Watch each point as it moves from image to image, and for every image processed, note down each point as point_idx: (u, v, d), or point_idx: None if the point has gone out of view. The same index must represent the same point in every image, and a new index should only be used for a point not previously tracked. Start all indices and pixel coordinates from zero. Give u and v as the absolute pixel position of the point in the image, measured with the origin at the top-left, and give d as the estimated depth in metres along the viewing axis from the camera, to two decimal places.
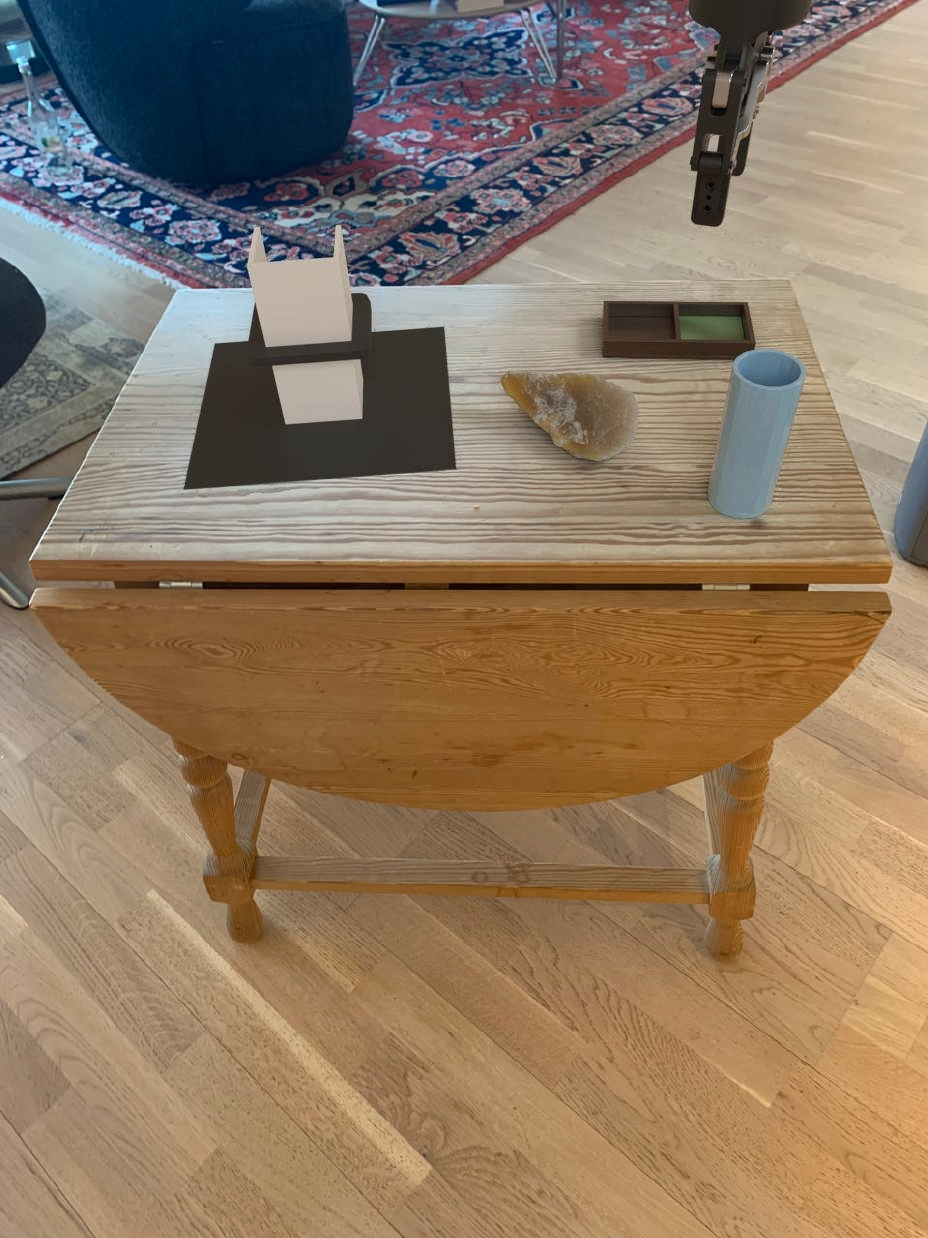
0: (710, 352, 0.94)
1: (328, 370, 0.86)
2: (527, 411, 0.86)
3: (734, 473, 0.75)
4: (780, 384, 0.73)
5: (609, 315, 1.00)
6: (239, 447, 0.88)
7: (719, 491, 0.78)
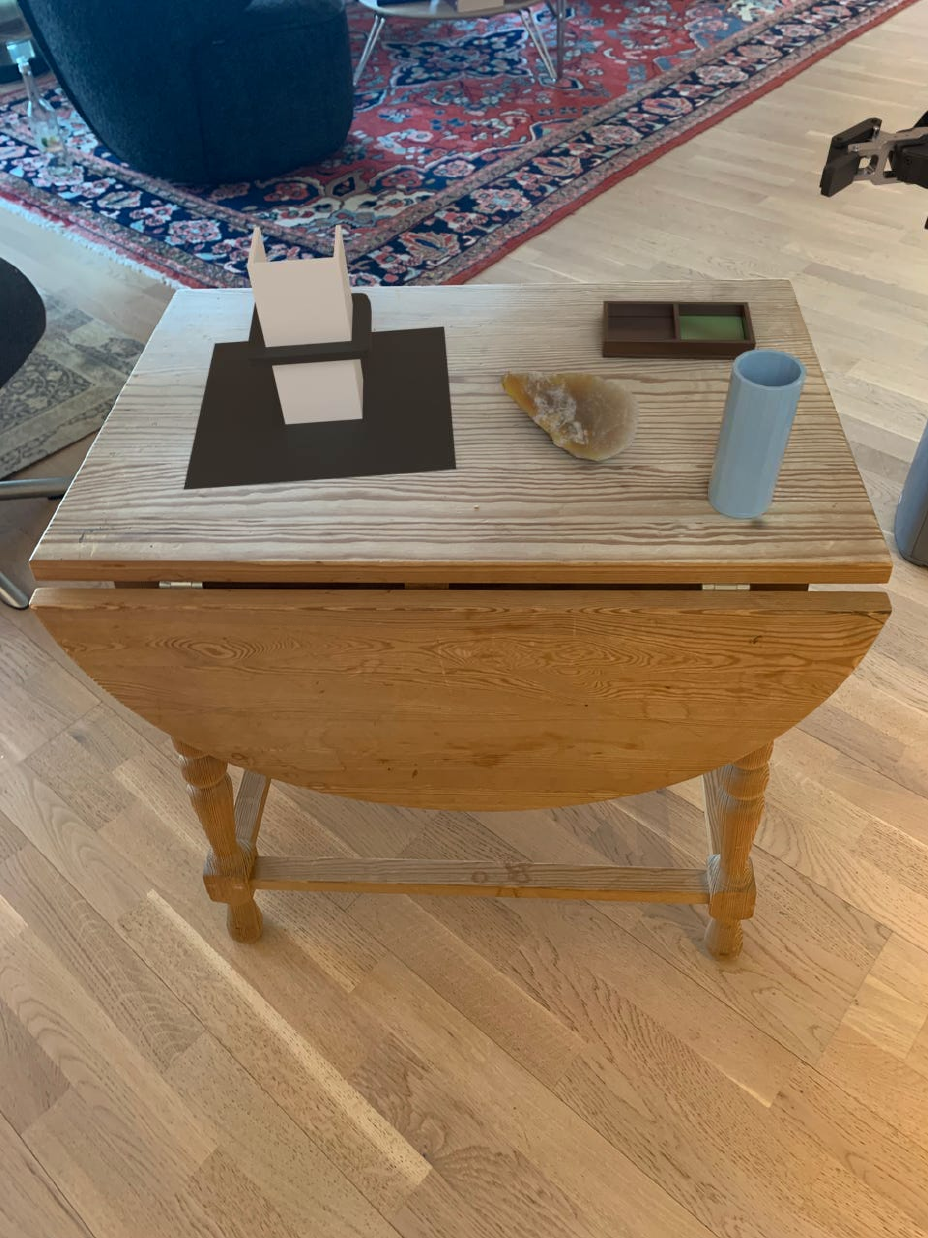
0: (710, 352, 0.94)
1: (328, 370, 0.86)
2: (527, 411, 0.86)
3: (734, 473, 0.75)
4: (780, 384, 0.73)
5: (609, 315, 1.00)
6: (239, 447, 0.88)
7: (719, 491, 0.78)
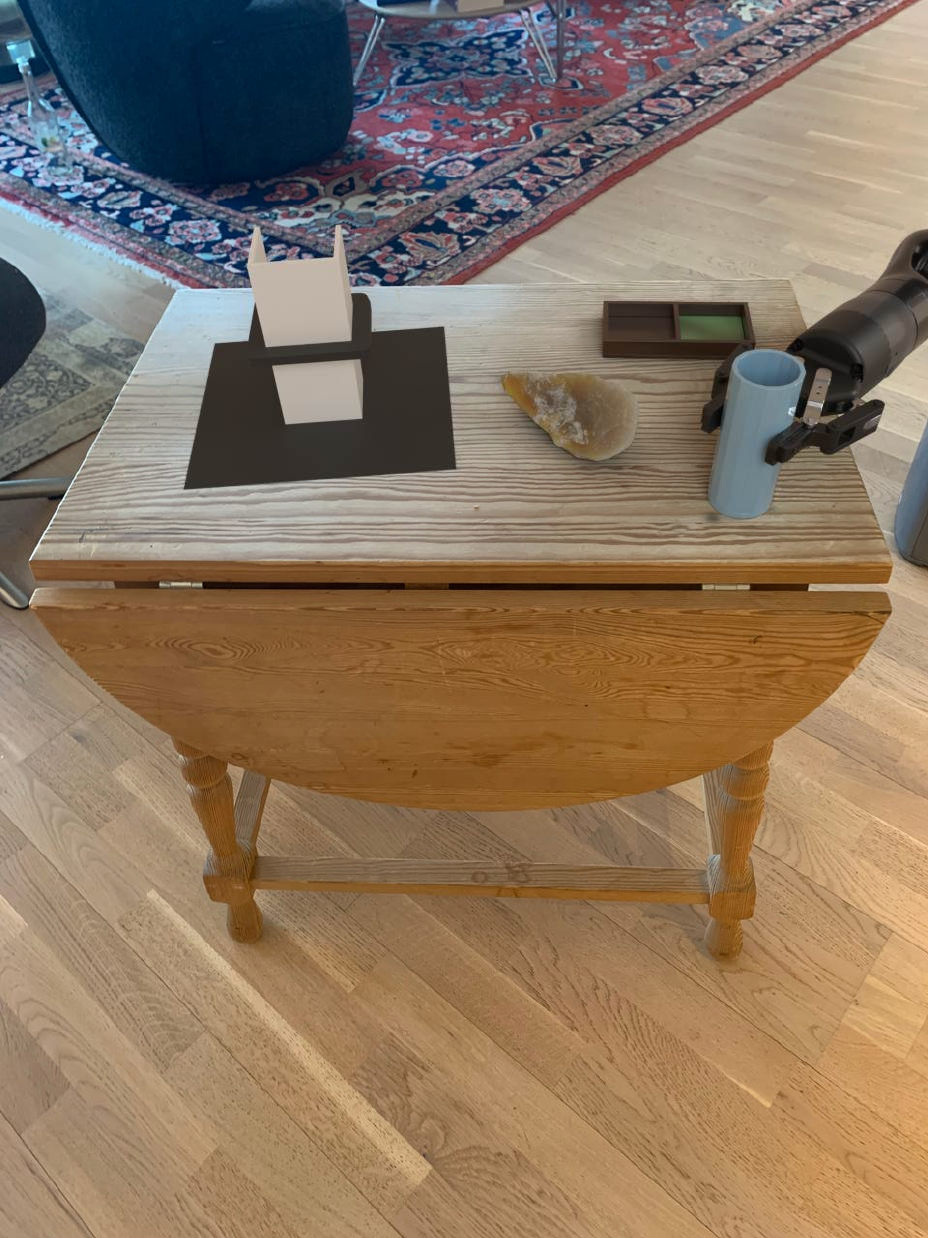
0: (710, 352, 0.94)
1: (328, 370, 0.86)
2: (527, 411, 0.86)
3: (734, 473, 0.75)
4: (780, 384, 0.73)
5: (609, 315, 1.00)
6: (239, 447, 0.88)
7: (719, 491, 0.78)
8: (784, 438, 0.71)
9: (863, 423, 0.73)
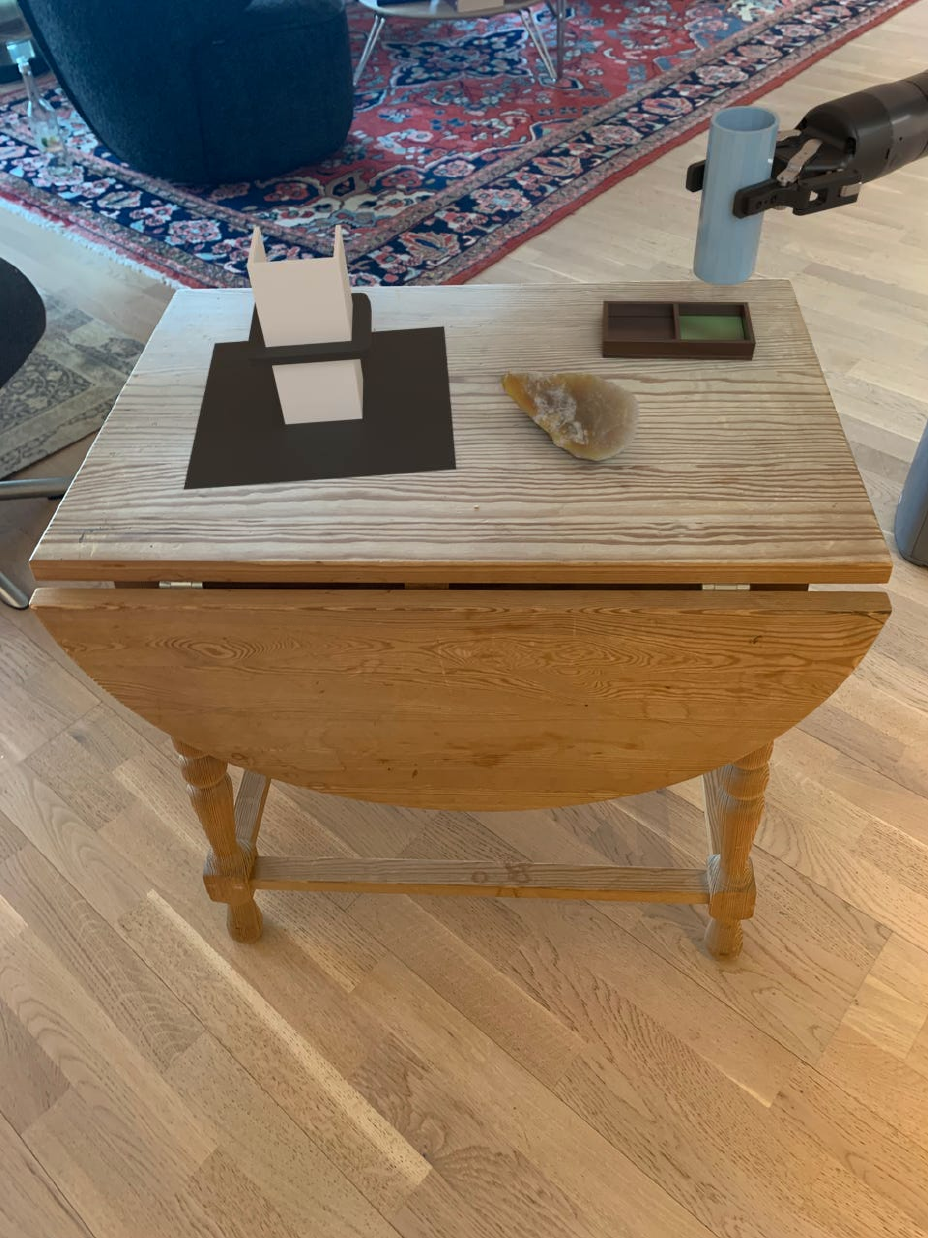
0: (710, 352, 0.94)
1: (328, 370, 0.86)
2: (527, 411, 0.86)
3: (709, 231, 0.80)
4: None
5: (609, 315, 1.00)
6: (239, 446, 0.88)
7: (699, 255, 0.82)
8: (751, 189, 0.75)
9: (837, 187, 0.76)
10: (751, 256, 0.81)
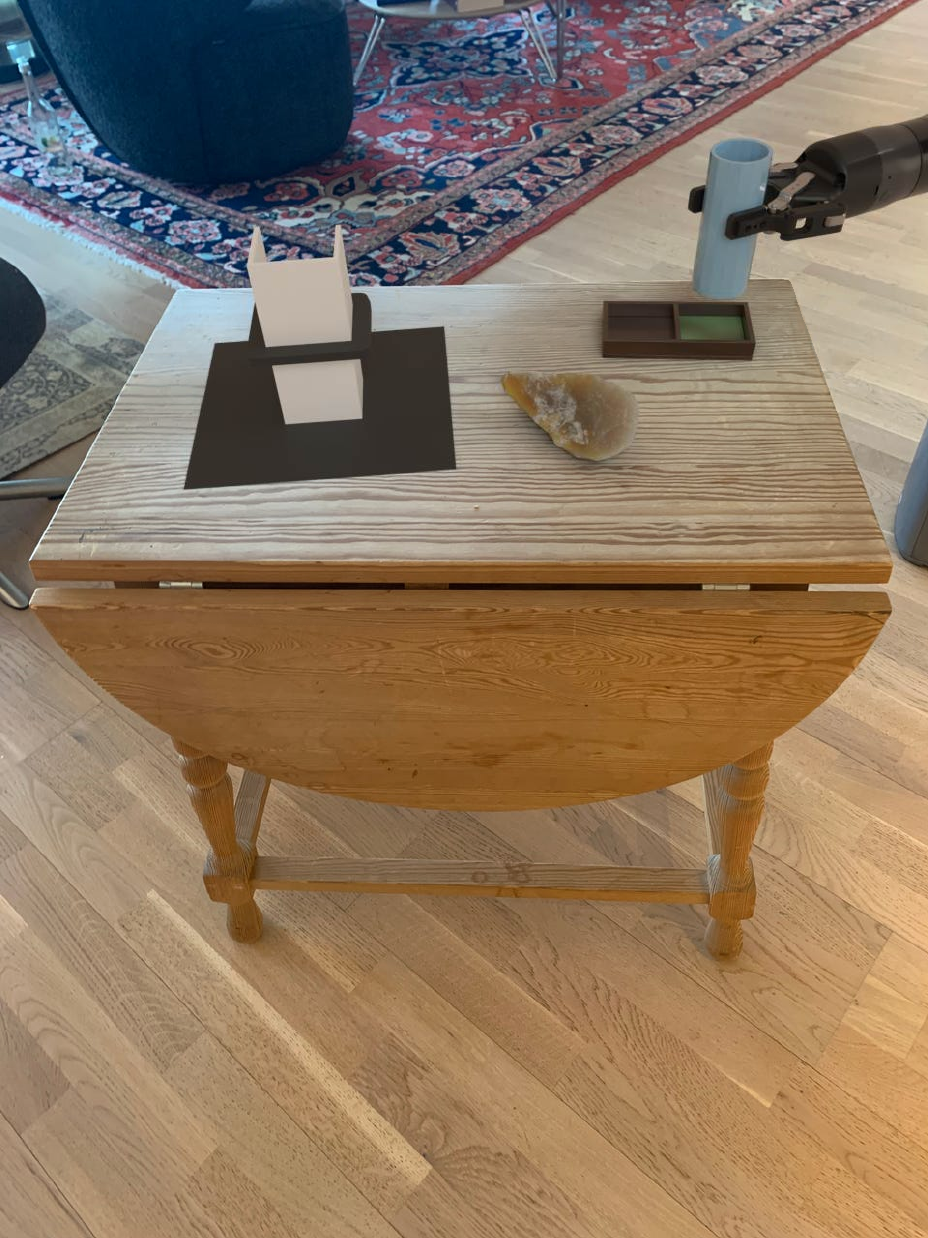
0: (710, 352, 0.94)
1: (328, 370, 0.86)
2: (527, 411, 0.86)
3: (705, 249, 0.88)
4: None
5: (609, 315, 1.00)
6: (239, 446, 0.88)
7: (696, 270, 0.91)
8: (742, 214, 0.83)
9: (822, 217, 0.83)
10: (743, 274, 0.89)
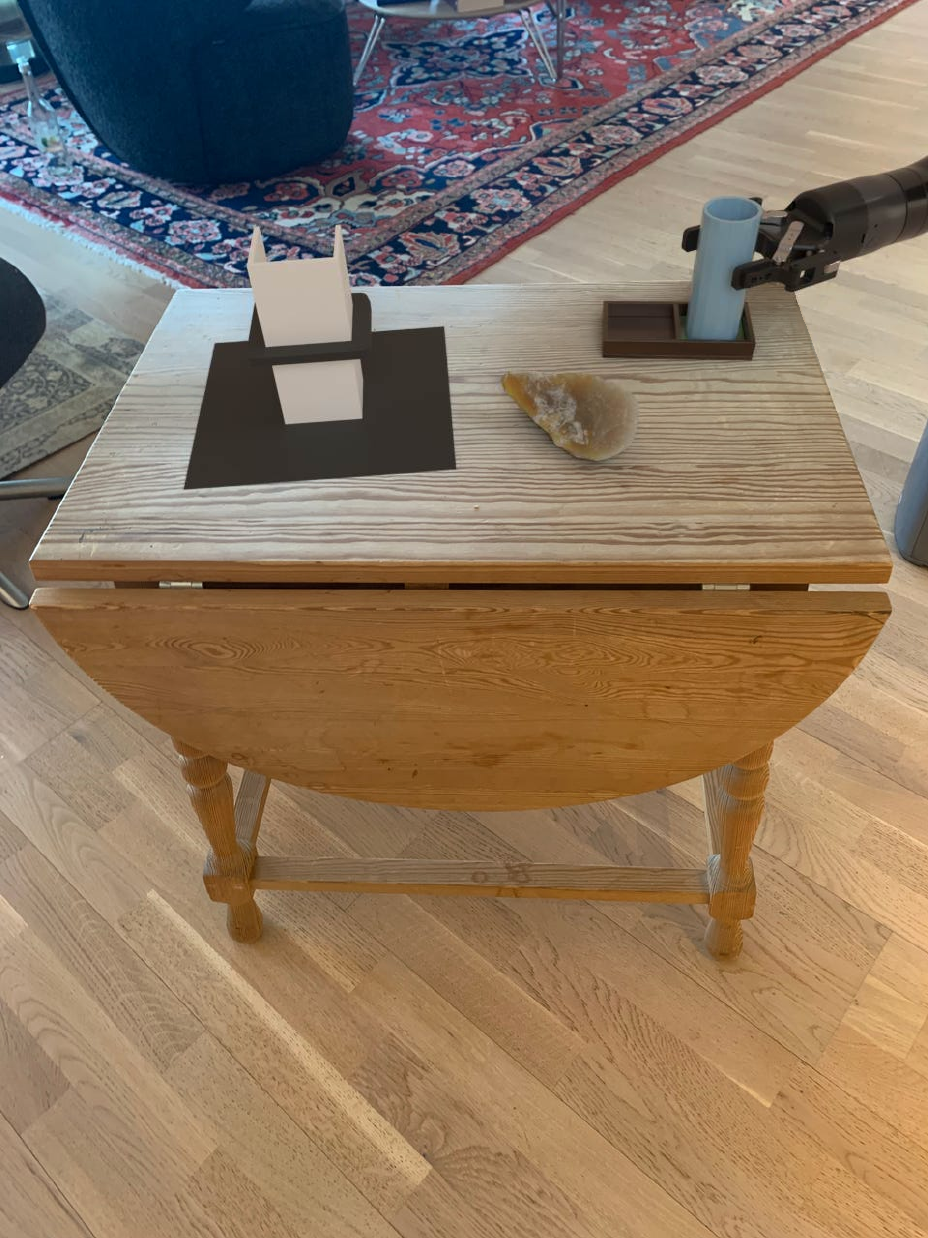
0: (710, 352, 0.94)
1: (328, 370, 0.86)
2: (527, 411, 0.86)
3: (698, 300, 0.92)
4: None
5: (609, 315, 1.00)
6: (239, 446, 0.88)
7: (689, 319, 0.95)
8: (748, 266, 0.86)
9: (822, 266, 0.87)
10: (734, 324, 0.93)
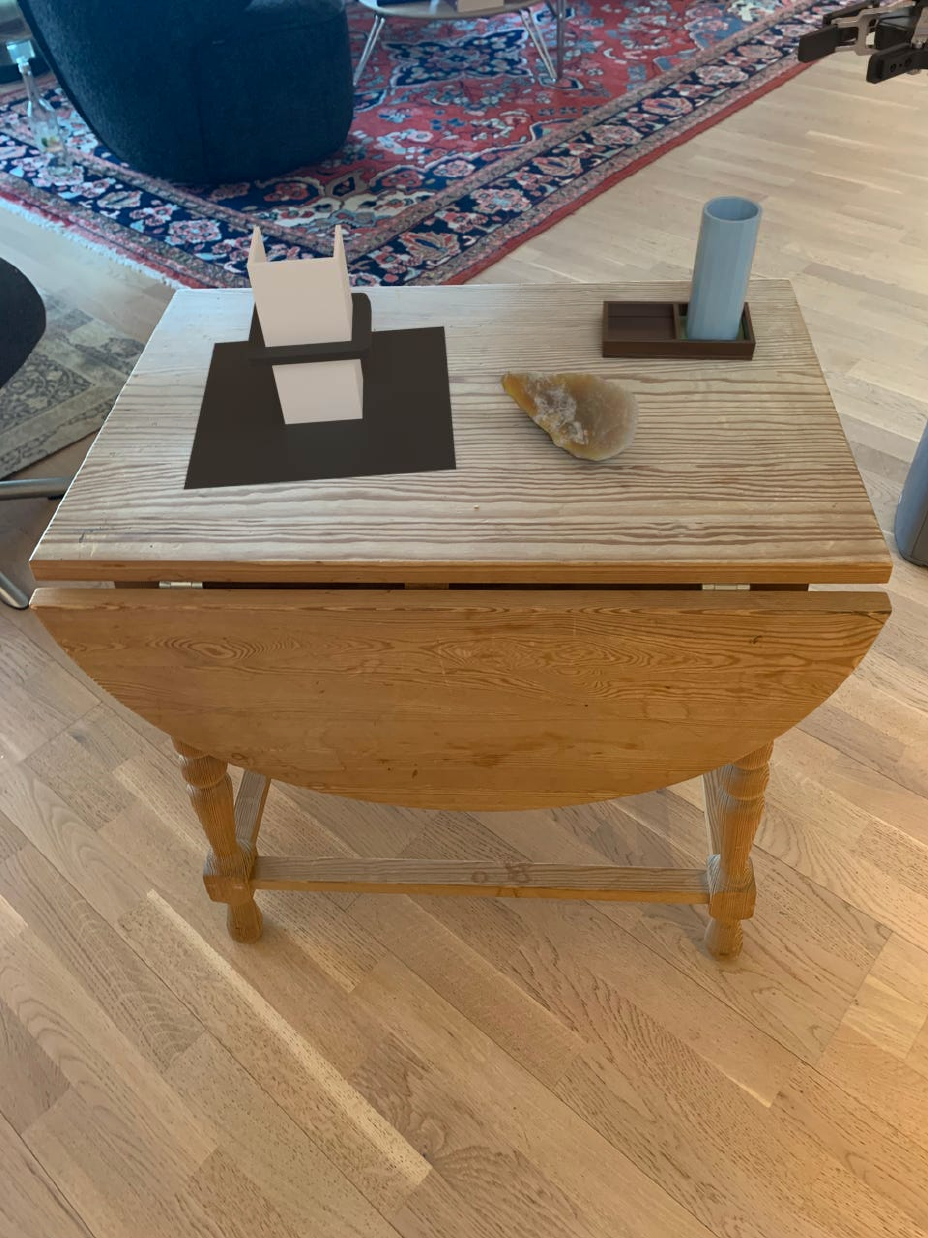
0: (710, 352, 0.94)
1: (328, 370, 0.86)
2: (527, 411, 0.86)
3: (698, 300, 0.92)
4: None
5: (609, 315, 1.00)
6: (239, 446, 0.88)
7: (689, 319, 0.95)
8: (886, 52, 0.77)
9: None
10: (734, 324, 0.93)
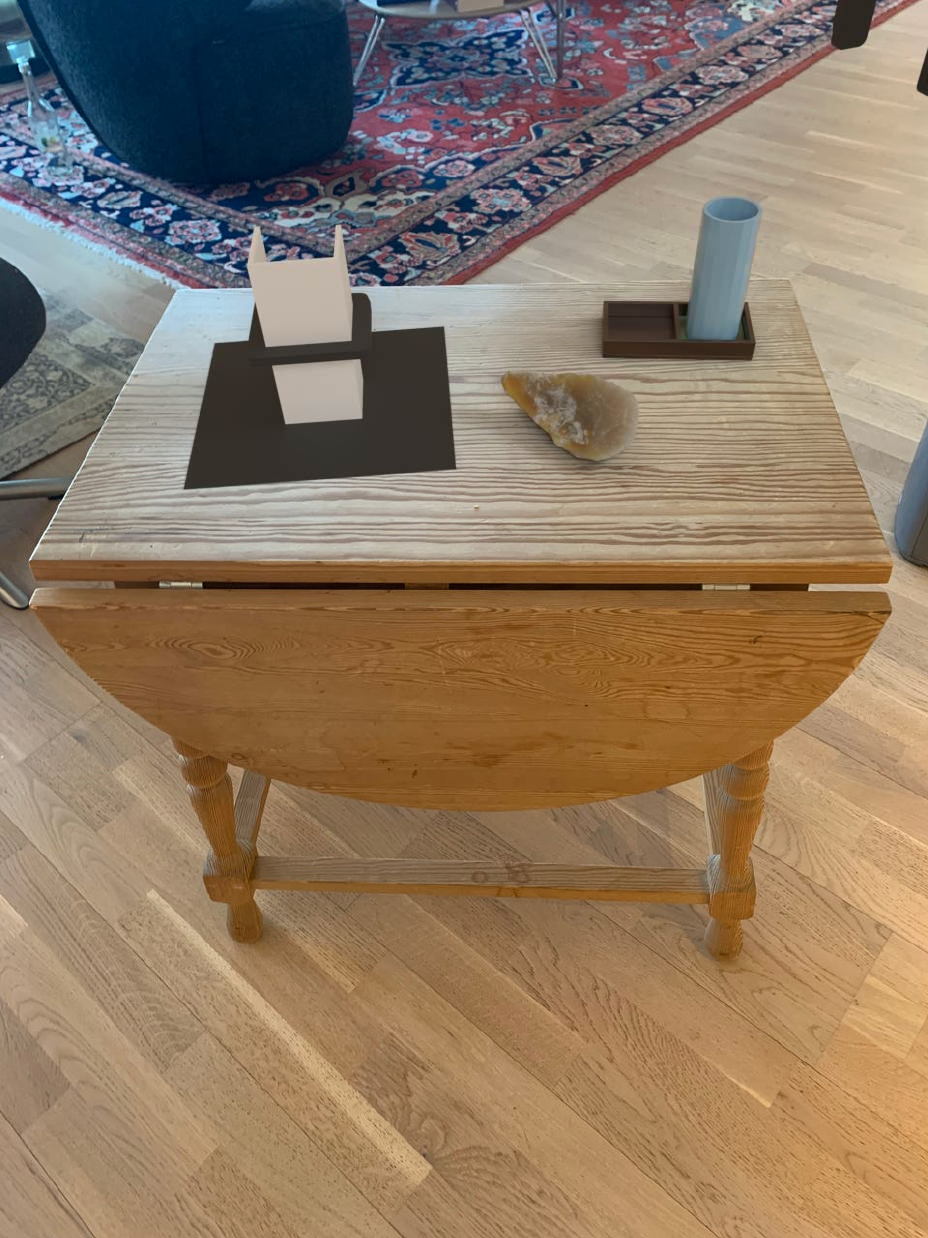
0: (710, 352, 0.94)
1: (328, 370, 0.86)
2: (527, 411, 0.86)
3: (698, 300, 0.92)
4: None
5: (609, 315, 1.00)
6: (239, 446, 0.88)
7: (689, 319, 0.95)
8: (927, 74, 0.52)
9: None
10: (734, 324, 0.93)
